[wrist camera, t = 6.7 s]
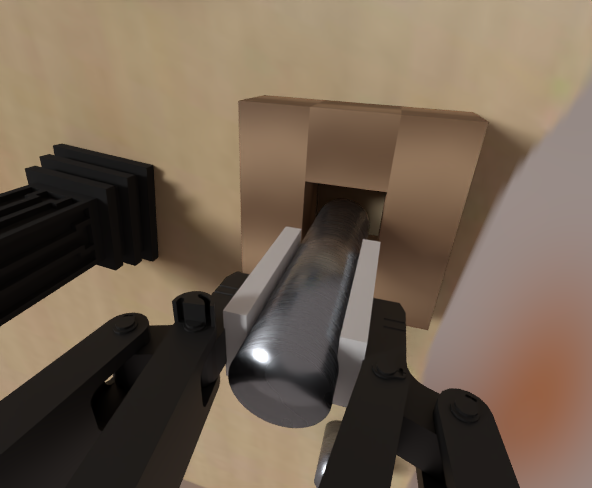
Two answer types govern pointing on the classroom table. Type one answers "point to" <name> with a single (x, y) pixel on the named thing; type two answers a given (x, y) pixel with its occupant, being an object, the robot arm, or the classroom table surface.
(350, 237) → the long pin
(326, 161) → the hole block
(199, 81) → the classroom table surface
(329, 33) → the classroom table surface
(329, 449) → the short pin
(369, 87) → the classroom table surface
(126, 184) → the chess piece
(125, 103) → the classroom table surface
